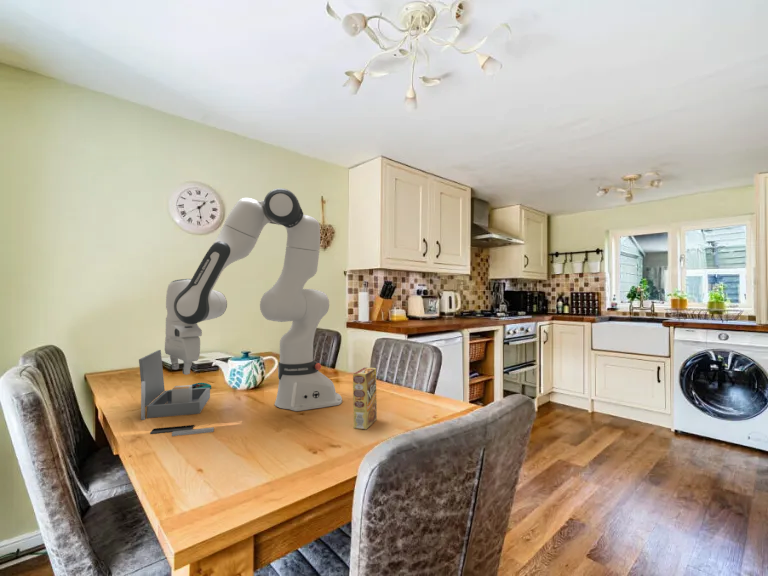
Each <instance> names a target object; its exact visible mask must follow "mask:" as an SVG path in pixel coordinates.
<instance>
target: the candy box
mask: <svg viewBox="0 0 768 576" xmlns="http://www.w3.org/2000/svg"><path fill="white" fill-rule="evenodd" d="M352 396H353V398H352V399H353V403H352V405H353V429H360V430H361V429H362V430H367V429H368V428H369V427H370V426H372V425H373V423H375V422H376V421H377V419H378V414H377V413H378V412H377V409H378V407H377V406H378V405H377V402H378V400H377V368H376V367H363V368H361V369H359V370H357V371H356V372H353V374H352Z"/></svg>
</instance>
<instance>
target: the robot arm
mask: <svg viewBox="0 0 768 576" xmlns="http://www.w3.org/2000/svg"><path fill="white" fill-rule="evenodd" d="M268 224H273V225H278V226H283V227H284V228H285V230H286V235H287V237H286V238H287V239H286V245H285V255H284V259H283V260H284V261H283V266H282V270H281V272H280V275H279V277H278V278H277V280H276V282H275V284H273V286H271V287H270V289H267V291H266V292H265V293H264V294H262V296H261V298H260V301H259V310H260V312H261V315H262V317H263V318H265V319H266V320H267V321H273V322H278V323H284V322H292V323H291V326H290V328H289V330H288V331H287V332H286V333H284V334H283V335H282V336H281V337H280V340H279V361H278V365H277V377H278V387H277V394H276V399H275V401H274V406H275V407H276V408H280V409H283V410H284V409H285V410H291V411H293V412H300V411H309V410H313V409H321V408H328V407H333V406H339V405H341V404H342V403H343V398H342V396H341V394H339V393H338V392H336V387H335V385H334V384H335V383H334V382H333V381H332V380H331V379H330V378H329V377H327V376H326V375H325V374H323V373H322V372H321V371H319V370H321V369H322V364H321V363H319V362H318V361H316V360H314V339H315V335H316V331H317V328H318V325H319V323H320V322H321V320H322V319H323V318H324V316H326V315H327V314H328V311H329V310H330V309H329V308H330V300H329V297H328V295H327V293H325V292H324V291H322V290H319V289H313V288H304V287H305V285H306V283H307V282H308V281H309V280H310V279H311V278H313V277H314V276H316V274H317V272H318V268H319V267H318V265H319V258H320V248H321V226H320V222H319V221H318V220H317V219H316V218H315V217H313V216H311V215H307V214H304V212H303V209H302V207H301V204H300V202H299V199H298V198H297V196H296V195H295V193H293V192H292V191H290V190H288V189H286V188H281V187H278V188H274V189H272V190H270V191H269V192H268V193H267V194H266V195H265V197H264V199H263V200H258V199H255V198H251V197H241V198H240V199H238V201H237V202H236V203H235V204H234V206H233V207H232V209H231V210H230V212H229V214H228V215H227V216H226V219H225V220H224V224H223V225H222V228H221V230H220V231H219V234H218V235H217V237H216V239H215V241H214V242H213V243H212V245H211V246H210V247H209V249H208V250H207V252H206V254H205V255H204V257H203V258H202V260H201V262H200V264H199V265H198V267H197V269H196V271H195V272H194V274H193V277H192V278H182V279H175V280H172V281H171V282H169V284H168V286H167V289H166V297H165V298H166V299H165V309H166V312H167V314H166V317H165V339H164V340H165V341H164V353H165V354H166V355H168V356H169V359H170V363H171V369H172V370H179V369H180V363H179V360H181V361H183V368H182V374H183V375H190V374H191V368H192V365H193V362H198V361H199V358H200V353H201V337H202V335H203V333H202V332H203V331H202V329H201V327H199V325H198V323H200V322H204V321H210V320H214V319H217V318H220V317H222V316H223V315H224V314H225V312H226V310H227V308H228V301H227V298H226V296H225V294H223V293H222V292H221V291H219V290H215V289H214V287H215V285H216V283H217V282H218V280H219V278H220V277H221V275H222V273H223V271H224V270H225V269H226V268H227V267H228V266H229V265H232V264H233V263H235V262H237V261H239V260H243V259H245V258H247V256H249V255H250V253H252V251H253V250H254V248H255V247H256V244H257V242H258V241H259V240H258V239H259V237H260V235H261V233H262V231H263V229H264V227H265V226H266V225H268Z"/></svg>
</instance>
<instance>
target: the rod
mask: <svg viewBox="0 0 768 576" xmlns="http://www.w3.org/2000/svg"><path fill="white" fill-rule="evenodd" d="M214 432H215V428H214V427H213V426H212V427H205V428H204V427H203V428H196V429H195V428H194V429H193V428H192V429H191V430H181V431H173V432H171V437H176V436H178V435H179V436H188V435H196V434H207V433H214Z"/></svg>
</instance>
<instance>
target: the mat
mask: <svg viewBox="0 0 768 576" xmlns="http://www.w3.org/2000/svg"><path fill="white" fill-rule="evenodd" d="M193 426H195V424H188V425H178V426H169V427H168V426H166V427H158V428H156V427H155V428H153V429H152V430H150V432H149V434H150V435H153V434H155V435H156V434H163V433H164V434H165V432H167V433H172V432H173V431H181V430H191V429H193V428H194V427H193Z"/></svg>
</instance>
